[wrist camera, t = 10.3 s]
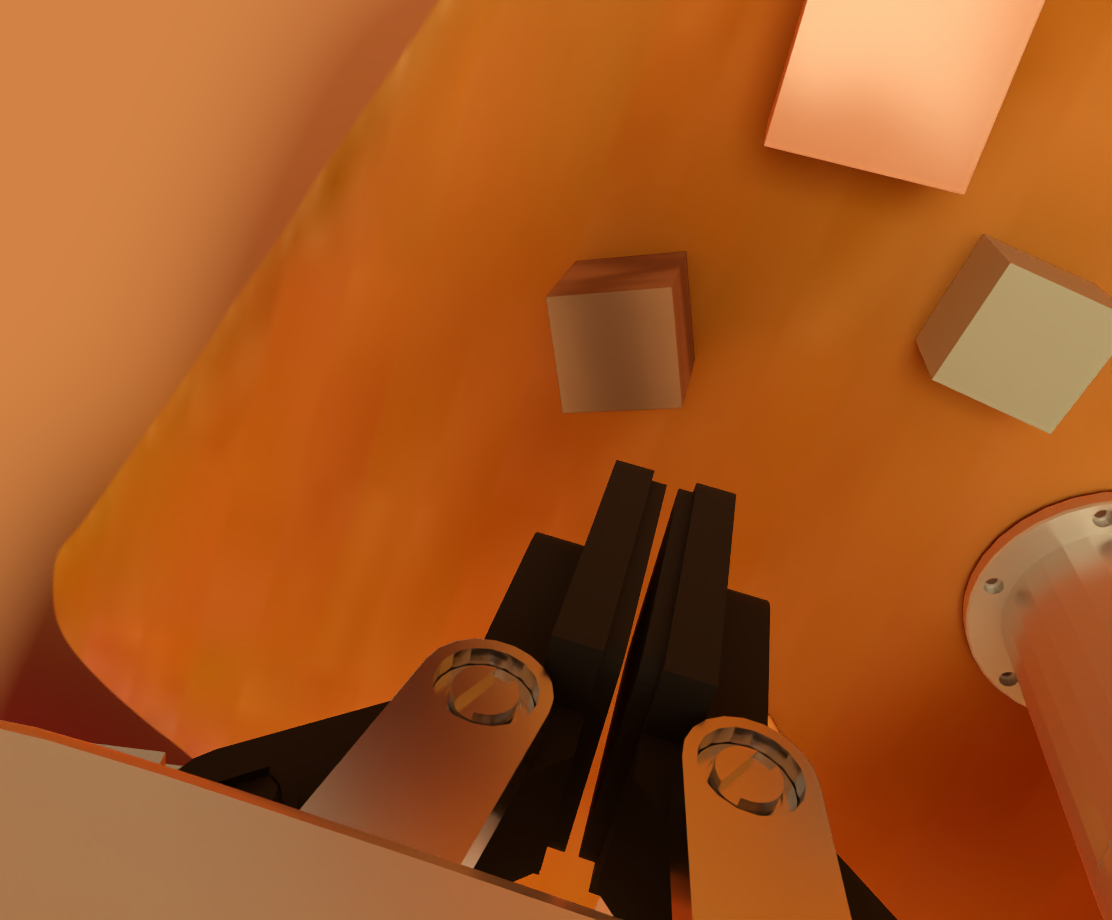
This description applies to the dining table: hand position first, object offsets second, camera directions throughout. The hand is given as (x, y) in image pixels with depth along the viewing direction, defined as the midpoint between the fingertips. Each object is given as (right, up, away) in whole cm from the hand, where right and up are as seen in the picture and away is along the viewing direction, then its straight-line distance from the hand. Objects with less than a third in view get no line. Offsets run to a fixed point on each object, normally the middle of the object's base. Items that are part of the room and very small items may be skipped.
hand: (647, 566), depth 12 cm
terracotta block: (+11, +17, +22) cm, 30 cm away
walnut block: (+2, +8, +29) cm, 30 cm away
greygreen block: (+18, +8, +25) cm, 32 cm away
